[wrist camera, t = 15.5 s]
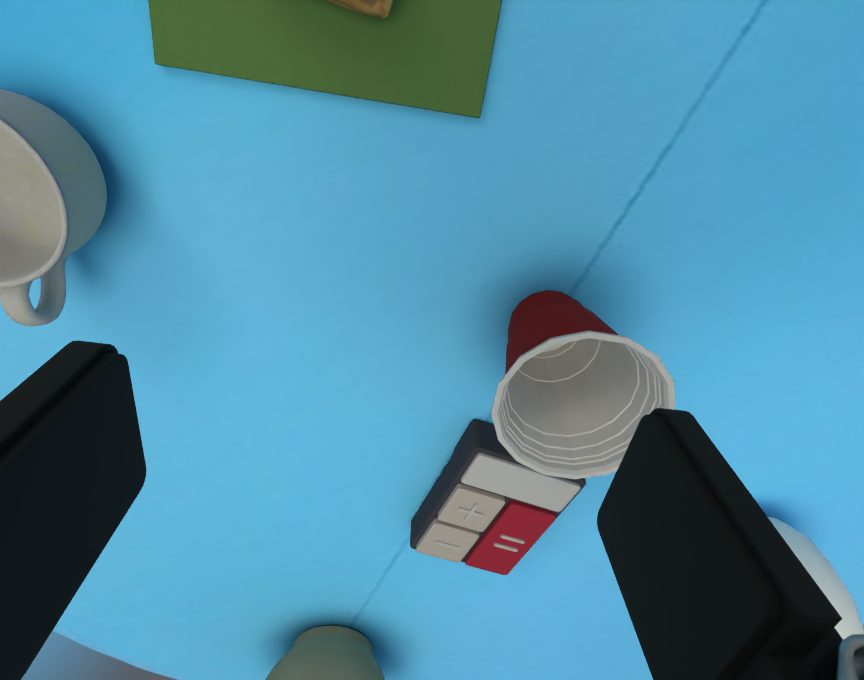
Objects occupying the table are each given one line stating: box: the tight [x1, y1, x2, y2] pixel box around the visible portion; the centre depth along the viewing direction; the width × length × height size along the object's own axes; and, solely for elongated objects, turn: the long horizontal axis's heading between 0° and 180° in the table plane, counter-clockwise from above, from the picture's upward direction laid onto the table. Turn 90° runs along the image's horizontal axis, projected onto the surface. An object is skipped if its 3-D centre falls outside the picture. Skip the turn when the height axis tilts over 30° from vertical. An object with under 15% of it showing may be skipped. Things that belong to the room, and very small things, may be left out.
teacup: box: [0, 89, 107, 326], centre depth 31 cm, size 14×11×8 cm
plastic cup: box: [491, 290, 675, 479], centre depth 35 cm, size 11×11×12 cm
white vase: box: [768, 517, 864, 639], centre depth 49 cm, size 13×13×14 cm
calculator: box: [410, 420, 586, 575], centre depth 48 cm, size 11×4×15 cm
